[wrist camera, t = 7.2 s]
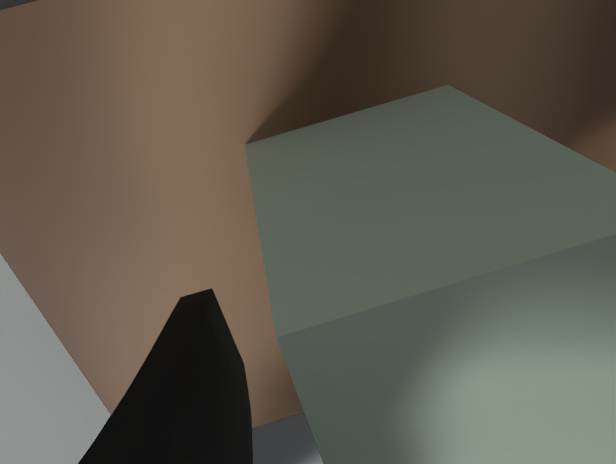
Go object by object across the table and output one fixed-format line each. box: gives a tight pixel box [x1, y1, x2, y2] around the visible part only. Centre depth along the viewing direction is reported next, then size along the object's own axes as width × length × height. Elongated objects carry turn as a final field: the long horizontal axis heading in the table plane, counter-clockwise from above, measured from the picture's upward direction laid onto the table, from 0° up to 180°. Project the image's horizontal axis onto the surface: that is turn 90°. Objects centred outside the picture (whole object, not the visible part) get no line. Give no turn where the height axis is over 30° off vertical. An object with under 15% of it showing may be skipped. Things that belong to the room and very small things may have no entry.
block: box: [245, 85, 616, 464], centre depth 9 cm, size 4×4×6 cm
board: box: [0, 0, 616, 428], centre depth 12 cm, size 16×12×2 cm
